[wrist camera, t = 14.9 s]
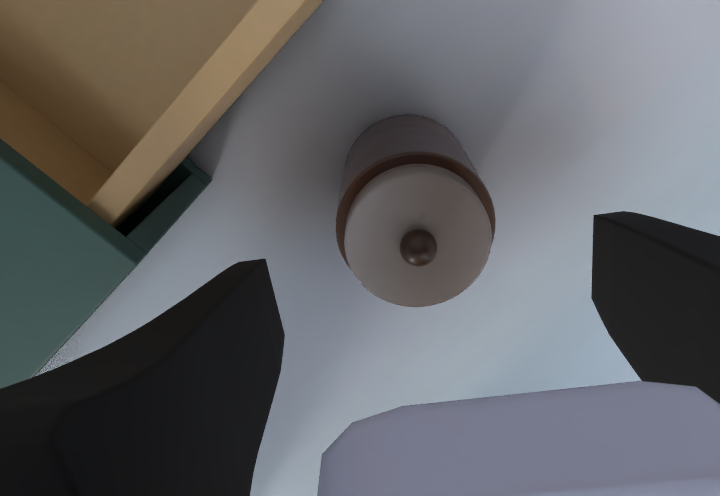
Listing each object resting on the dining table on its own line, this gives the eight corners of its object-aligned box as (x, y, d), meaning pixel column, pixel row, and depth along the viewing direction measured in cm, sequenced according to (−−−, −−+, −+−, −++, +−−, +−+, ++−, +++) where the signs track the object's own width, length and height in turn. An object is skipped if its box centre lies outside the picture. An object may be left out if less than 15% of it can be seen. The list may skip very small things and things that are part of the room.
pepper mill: (353, 239, 21) (345, 339, 15) (335, 123, 20) (317, 182, 13) (470, 225, 21) (511, 321, 15) (463, 105, 19) (507, 158, 13)
